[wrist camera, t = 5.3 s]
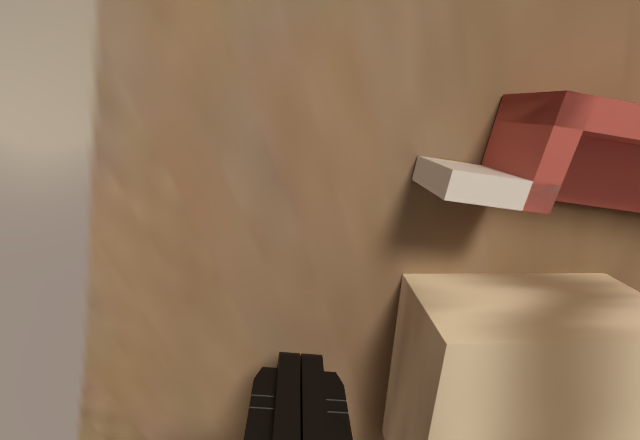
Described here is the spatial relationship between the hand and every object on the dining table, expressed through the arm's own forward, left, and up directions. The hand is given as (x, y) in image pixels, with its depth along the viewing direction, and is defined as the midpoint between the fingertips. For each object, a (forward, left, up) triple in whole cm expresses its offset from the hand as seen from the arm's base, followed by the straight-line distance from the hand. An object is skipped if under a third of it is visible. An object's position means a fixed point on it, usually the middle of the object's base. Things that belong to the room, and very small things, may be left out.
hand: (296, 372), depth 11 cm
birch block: (-8, 0, -2) cm, 8 cm away
